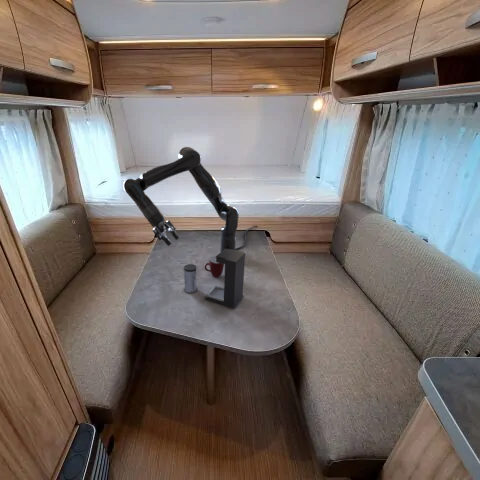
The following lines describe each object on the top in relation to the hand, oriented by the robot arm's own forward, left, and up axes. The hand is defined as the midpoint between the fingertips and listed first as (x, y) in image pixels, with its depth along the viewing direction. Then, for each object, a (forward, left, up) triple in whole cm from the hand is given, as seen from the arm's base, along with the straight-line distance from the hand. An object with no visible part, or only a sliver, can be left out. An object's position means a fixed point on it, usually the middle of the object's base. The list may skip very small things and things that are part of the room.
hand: (174, 241), depth 129 cm
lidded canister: (+2, +8, -25) cm, 26 cm away
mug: (-14, +17, -25) cm, 33 cm away
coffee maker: (+4, +26, -25) cm, 37 cm away
